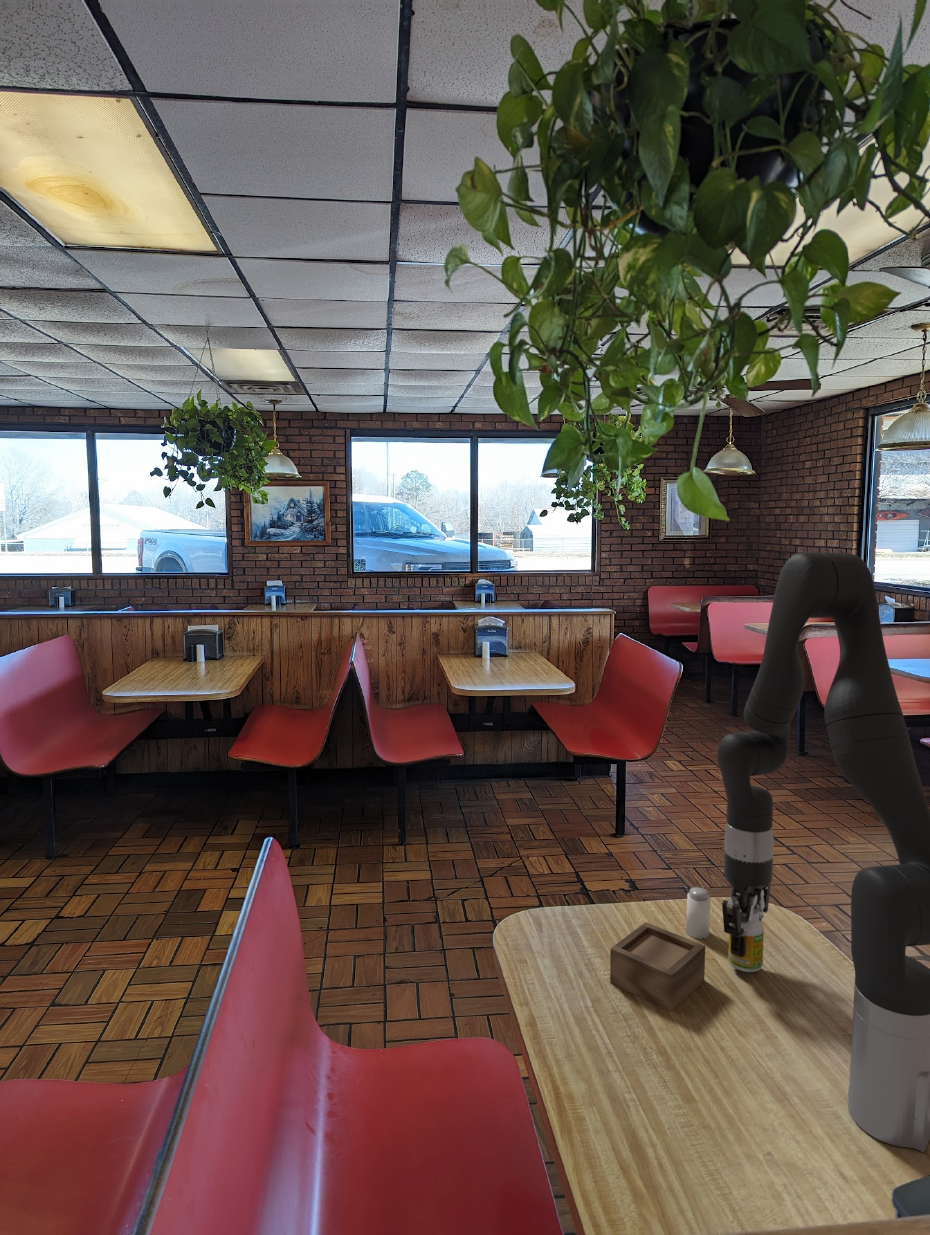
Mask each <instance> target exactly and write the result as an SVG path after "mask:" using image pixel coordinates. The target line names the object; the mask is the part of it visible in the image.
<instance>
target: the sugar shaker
mask: <svg viewBox="0 0 930 1235" xmlns="http://www.w3.org/2000/svg"><path fill="white" fill-rule="evenodd" d="M686 899H687V900H686V934H687V935H688V934H689V935H688V936H689V937H691V938H693V939H697V938H698V939H699V940H702V938H704V939H707V938H708V937H709V936H710V924H711V923H710V922H711V921H710V919H711V918H710V917H711V896H710V895H709V891H708V889H705V888H703V887H700V886H699V887H698V886H696V887H695V886H694V887H692V888H690V889H689V892H687V896H686ZM698 939H697V940H698Z"/></svg>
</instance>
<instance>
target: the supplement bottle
mask: <svg viewBox="0 0 930 1235" xmlns="http://www.w3.org/2000/svg"><path fill="white" fill-rule="evenodd" d="M740 915H743V916H746V915H747V913H743V912H740ZM759 915H760V912H759V909H758V908H757V907H756V908H755V909H754V910H753V916H752V921H751V922H749V923H748V925H747V931H746V953H745V955H744V956H743V957H739V956H737V955H734V954H732V953H731V934H728V962H729V964H730V965H731V967H733V968H734V969H737V970H739V971H741V972H747V973H754V972H755V973H756V972H758V971H760V970H761V969H762V968H763V964H764V962H763V961H764V959H763V958H764V935H765V934H764V933H765V931H764V929H765V928H764V924H763V923H762V921H761V920H760V921H761V922H760V921H759ZM741 927H742V921H741Z"/></svg>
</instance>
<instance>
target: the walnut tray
mask: <svg viewBox="0 0 930 1235" xmlns="http://www.w3.org/2000/svg"><path fill="white" fill-rule="evenodd" d="M609 956H610V960H609V961H610V964H609V965H610V967H609V970H610V973H609V974H610V976H609V978H610V980H609V983H610V984H612V985H614V986H616V987H618V988H620V989H623V990H625V991H627V992H629V993H631V994H633V995H636V996H638V997H639V998H641V999H643V1000H645V1001H648V1002H650V1003H652V1004H654V1005H656V1006H658V1007H661V1008H662V1009H665V1010H666V1011H668V1012H671V1013H672V1011H674V1010H675V1009H676V1008H678V1006H679V1005H680V1004H681V1003H682V1002H684V1000H685V999H686V998H687V997H688V996H690V994H691V993H693V991H695V990H696V989H697V988H698V986H700V985H701V984H702V983H703V982H704V981H705V972H706V968H705V966H706V945H704V944H701V943H700V942H697V941H695V940H692V939H689V938H687V937H684V936H682V935H679V934H677V933H674V932H672V931H669V930H667V929H664V928H662V927H659V926H657V925H654V924H653V923H649V922H647V921H645V922H644V923H642V924H641V925H640V926H638V927H637V928H636V929H634V930H633V931H631V932H630V933H629V934H628V935H626V936H625V937H624V938H623V939H621V940H619V941H618V942H616V944H615V945H613V946H612V947H610V954H609Z"/></svg>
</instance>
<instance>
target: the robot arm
mask: <svg viewBox="0 0 930 1235" xmlns="http://www.w3.org/2000/svg"><path fill="white" fill-rule="evenodd" d="M772 600H773V601H772V606H771V612H770V615H769V620H768V621H769V622H768V626H767V632H766V636H765V644H764V648H763V654H762V659H761V662H760V666H759V669H758V672H757V675H756V677H755V680H754V682H753V686H752V688H751V690H750V693H749V695H748V698H747V700H746V703H745V706H744V710H743V718H744V721H745V723H746V724H747V725H748V726H749V727H750V728H751V729H753V730H752V731H744V732H743V731H742V732H736V733H734V732H733V733H729V734H727V735H725V736H724V737H723V738H721V741H720V742H719V744H718V746H717V750H716V751H717V752H716V757H717V763H718V767H719V770H720V774H721V778H722V782H723V786H724V791H725V794H726V800H727V803H726V824H725V825H726V826H725V833H724V852H723V853H724V856H723V874H724V876H725V877H726V879H727V880H729V882H731V884H732V887H731V888H732V889H731V891H730V896H729V897H730V899H729V900H727V899H723V900H722V903H721V907H722V922H723V932H724V933H725V934H728V935H729V934H731V953H732V954H734V955H737V956H739V957H743V956H744V955H745V953H746V931H747V925H748V923H749V922H751V921H752V916H753V910H754V909H755V908H756V907H757V908H758V909H759V912H760V915H759V921H760V922H761V923H762V921H763V919H764V916H765V914H767V913H768V912H769V905H770V904H769V900H770V892H771V886H772V885H771V884H772V881H773V871H774V870H773V866H774V865H773V864H774V834H773V833H774V832H773V821H774V820H773V818H774V815H773V814H774V807H773V806H774V805H773V804H774V800H773V796H772V794H771V792H769V790H767V789H765V788H763V787H760V786H756V785H751V777H753V776H754V777H755V776H761V775H768V774H773V773H776V772H777V771H779V770H780V769H781V768H782V767H783V766H784V765H785V763H786V761H787V758H788V755H789V754H788V753H789V742H790V730H791V722H792V721H793V718H794V716H795V714H796V711H797V710H798V707H799V705H800V703H801V700H802V697H803V695H804V691H805V672H804V668H803V664H802V661H801V657H800V653H799V641H800V640H799V639H800V637H801V634H802V631H803V630H804V627H806V626H805V625H806V624H807V623H808V620H809V619H832V620H833V622H834V626H835V629H836V635H837V639H838V645H839V660H838V665H837V668H836V672H835V675H834V677H833V679H832V682H831V684H830V687H829V690H828V693H827V696H826V699H825V704H824V711H823V712H824V713H823V716H824V722H825V727H826V732H827V734H828V736H827V737H828V739H829V743H830V748H831V752H832V755H833V759H834V761H835V764H836V765H837V767H838V768H839V770H840V773H842V775H843V776H844V777H845V778H846V779H847V781H848V782H849V783H850V784H851V786H852V787H853V788H854V789H855V790H856V791H857V793H858V794H860V795H861V797H862V798H863V799H864V800H865V802H867V803H868V804H869V806H871V808H872V809H873V810H874V811H875V813H877V815H878V816H879V817H880V819H881V820H882V823H884V825H885V827H886V829H887V831H888V833H889V835H890V838H891V840H892V843H893V845H894V849H895V851H896V854H897V857H898V862H899V864H889V865H888V864H887V865H878V866H877V865H874V866H868V867H865V868H862V869H861V870H859V871H858V872H857V873H856V875H855V876H854V879H853V882H852V884H851V885H852V886H851V892H850V926H851V929H850V932H851V933H850V934H851V936H850V939H851V940H850V948H851V949H850V950H851V957H852V959H851V960H852V963H853V968H854V973H855V974H854V988H853V989H854V990H853V991H854V993H853V1008H852V1009H853V1010H852V1027H851V1043H850V1044H851V1045H850V1046H851V1047H850V1062H849V1064H850V1066H849V1081H848V1082H849V1083H848V1084H849V1085H848V1095H847V1096H848V1102H847V1105H848V1106H847V1107H848V1111H849V1114H850V1117H851V1118H852V1120H853V1121H854V1122H855V1123H856V1124H857V1125H858V1127H860V1128H861V1129H862V1130H863V1131H864V1132H865V1133H867V1134H868V1135H870V1136H871V1137H873V1138H874V1139H876V1140H879V1141H881V1142H883V1143H886V1144H889V1145H891V1146H894V1147H899V1148H910V1149H915V1150H917V1151H919V1152H922V1153H924V1152H925V1151H926V1150H927V1147H928V1144H929V1143H930V968H929V967H928V966H927V965H925V964H924V963H922V962H920V961H919V960H917V959H915V958H912V957H911V956H908V955H906V949H907V948H908V947H918V946H928V945H929V946H930V807H929V804H928V801H927V797H926V795H925V791H924V788H923V784H922V780H921V777H920V774H919V771H918V767H917V764H916V761H915V755H914V751H913V748H912V743H911V739H910V735H909V731H908V728H907V725H906V720H905V717H904V713H903V710H902V708H901V704H900V701H899V698H898V694H897V691H896V687H895V683H894V680H893V676H892V672H891V668H890V667H891V666H890V665H889V659H888V655H887V651H886V646H885V641H884V636H883V631H882V624H881V618H880V617H881V616H880V612H879V605H878V599H877V593H876V589H875V583H874V580H873V577H872V573H871V571H870V568H869V566H868V565H867V563H866V562H865V561H864V560H863V558H861V557H860V556H858V555H856V554H853V553H849V552H847V553H846V552H824V551H823V552H821V551H820V552H814V551H813V552H812V551H811V552H809V551H808V552H799V553H798V552H797V553H796V554H794V555H792V556H790V557H789V558H788V559H787V560H786V562H785V564H784V565H783V566H782V568H781V571H780V574H779V576H778V579H777V583H776V587H775V590H774V596H773V599H772ZM740 912H743V913H747V915H746V916H743V915H740ZM741 921H742V927H741Z"/></svg>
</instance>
